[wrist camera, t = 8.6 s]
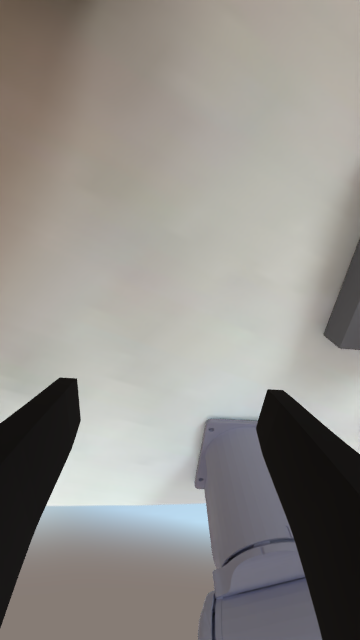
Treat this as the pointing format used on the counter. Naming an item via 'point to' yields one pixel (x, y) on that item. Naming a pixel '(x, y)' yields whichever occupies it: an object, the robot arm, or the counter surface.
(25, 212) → the counter surface
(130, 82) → the counter surface
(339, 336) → the plate
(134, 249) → the counter surface
